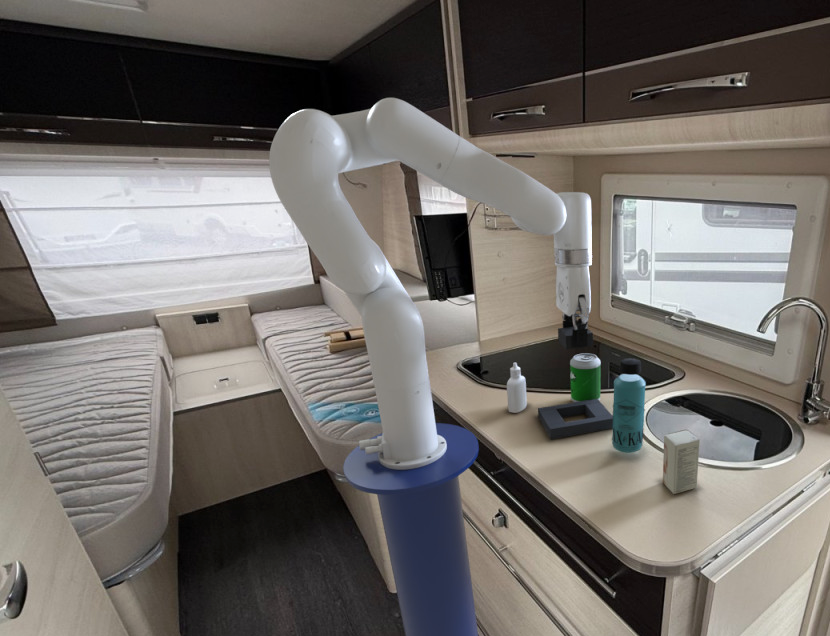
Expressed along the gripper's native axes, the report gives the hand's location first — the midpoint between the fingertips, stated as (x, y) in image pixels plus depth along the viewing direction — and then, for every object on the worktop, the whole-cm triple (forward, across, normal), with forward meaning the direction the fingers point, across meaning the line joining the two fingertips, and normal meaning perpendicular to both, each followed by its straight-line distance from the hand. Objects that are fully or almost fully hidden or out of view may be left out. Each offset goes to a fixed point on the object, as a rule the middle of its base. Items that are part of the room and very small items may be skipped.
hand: (575, 341), depth 101 cm
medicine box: (+20, +30, +10) cm, 37 cm away
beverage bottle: (+20, +16, +6) cm, 26 cm away
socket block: (+20, 0, 0) cm, 20 cm away
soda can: (+20, -10, +6) cm, 23 cm away
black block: (+1, 0, 0) cm, 1 cm away
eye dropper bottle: (+20, -12, -11) cm, 26 cm away
